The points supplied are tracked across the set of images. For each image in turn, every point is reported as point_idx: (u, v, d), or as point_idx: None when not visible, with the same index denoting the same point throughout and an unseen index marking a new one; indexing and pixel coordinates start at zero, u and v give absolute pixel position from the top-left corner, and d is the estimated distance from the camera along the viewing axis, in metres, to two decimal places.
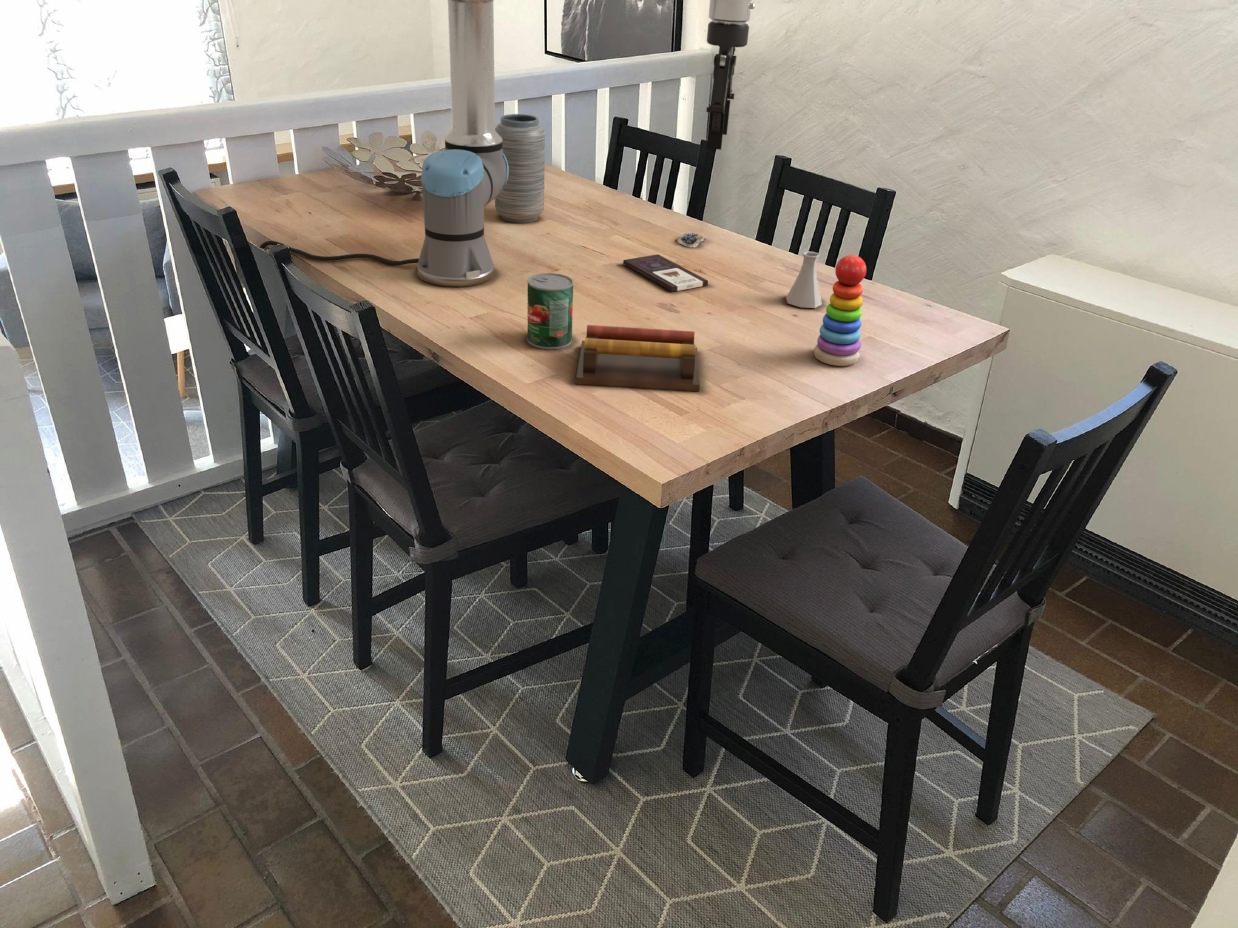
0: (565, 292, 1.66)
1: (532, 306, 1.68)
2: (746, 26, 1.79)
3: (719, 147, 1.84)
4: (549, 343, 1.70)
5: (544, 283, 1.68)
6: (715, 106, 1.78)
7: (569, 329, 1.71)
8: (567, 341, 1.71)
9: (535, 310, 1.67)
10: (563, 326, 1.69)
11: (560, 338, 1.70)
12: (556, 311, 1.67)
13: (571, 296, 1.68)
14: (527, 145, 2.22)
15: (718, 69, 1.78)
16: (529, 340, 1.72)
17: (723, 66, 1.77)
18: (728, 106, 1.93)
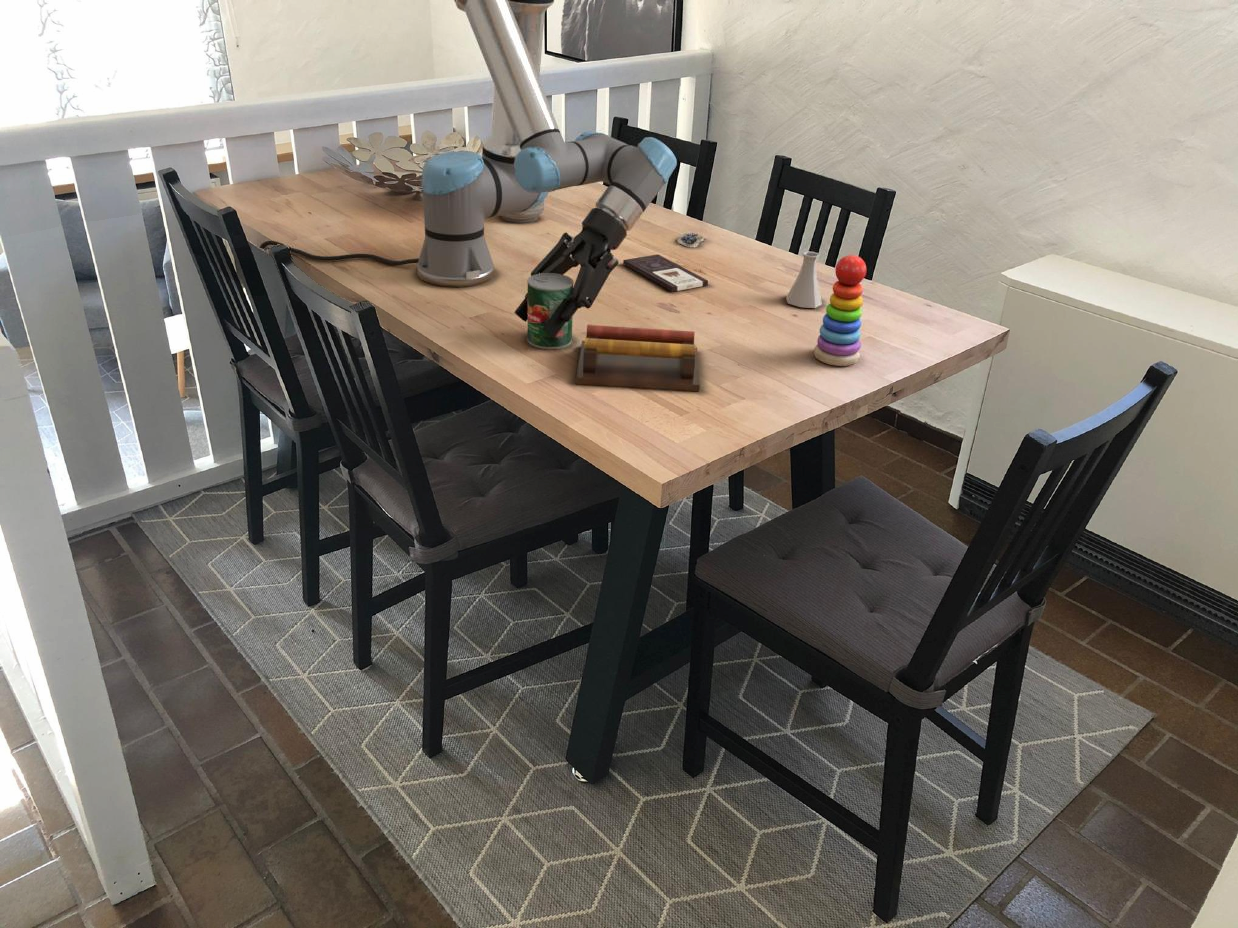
0: (565, 292, 1.66)
1: (532, 306, 1.68)
2: None
3: (554, 335, 1.68)
4: (549, 343, 1.70)
5: (544, 283, 1.68)
6: (586, 301, 1.65)
7: (569, 329, 1.71)
8: (567, 341, 1.71)
9: (535, 310, 1.67)
10: (563, 326, 1.69)
11: (560, 338, 1.70)
12: None
13: None
14: None
15: (604, 267, 1.66)
16: (529, 340, 1.72)
17: (608, 267, 1.66)
18: None
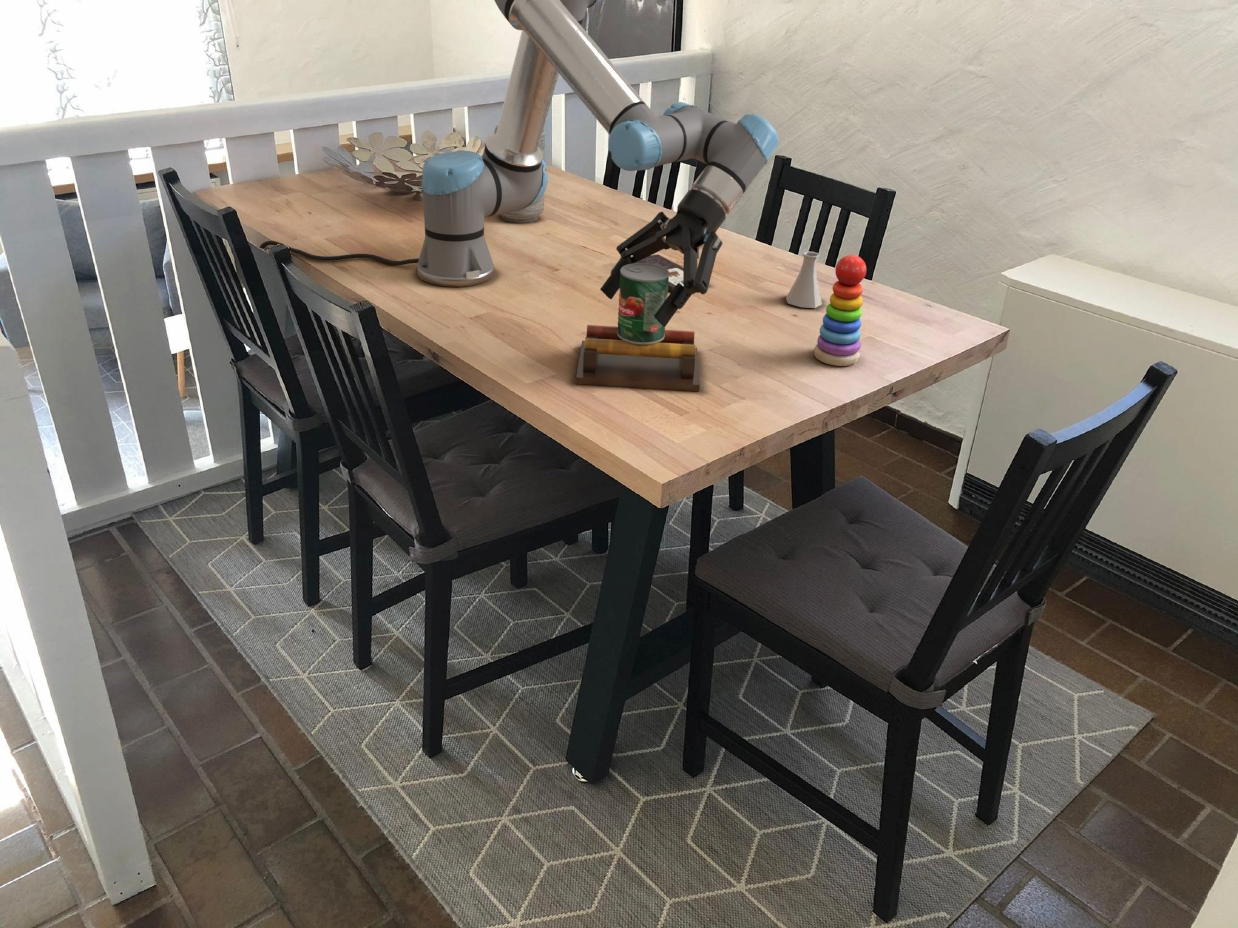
0: (662, 283, 1.55)
1: (626, 299, 1.56)
2: None
3: (665, 323, 1.55)
4: (643, 338, 1.58)
5: (638, 273, 1.57)
6: (702, 285, 1.52)
7: None
8: (660, 336, 1.60)
9: (629, 303, 1.56)
10: None
11: (654, 332, 1.59)
12: (651, 303, 1.56)
13: (667, 287, 1.57)
14: None
15: (711, 248, 1.54)
16: (619, 335, 1.61)
17: (714, 248, 1.55)
18: None
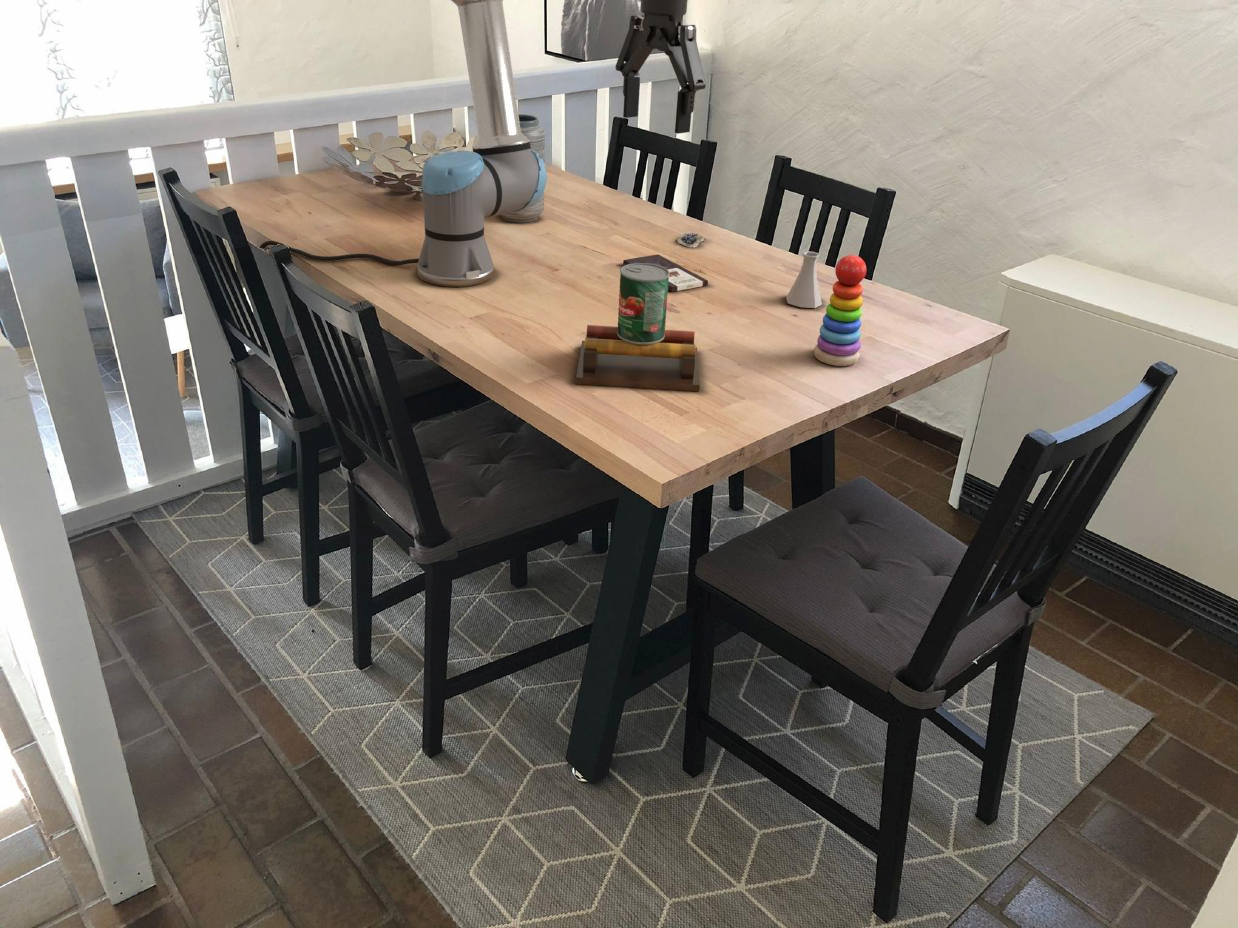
0: (662, 283, 1.55)
1: (626, 299, 1.56)
2: None
3: (688, 129, 1.64)
4: (643, 338, 1.58)
5: (638, 273, 1.57)
6: (698, 85, 1.58)
7: (663, 323, 1.60)
8: (660, 336, 1.60)
9: (629, 303, 1.56)
10: (658, 319, 1.58)
11: (654, 332, 1.59)
12: (651, 303, 1.56)
13: (667, 287, 1.57)
14: None
15: (688, 42, 1.57)
16: (619, 335, 1.61)
17: (690, 38, 1.57)
18: (638, 84, 1.71)
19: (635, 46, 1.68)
